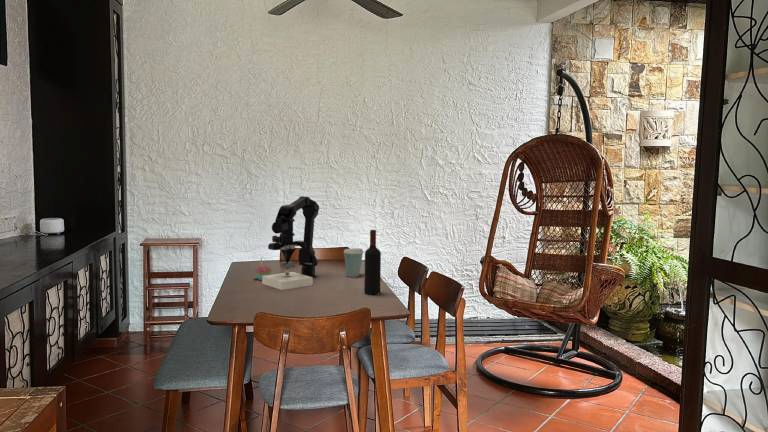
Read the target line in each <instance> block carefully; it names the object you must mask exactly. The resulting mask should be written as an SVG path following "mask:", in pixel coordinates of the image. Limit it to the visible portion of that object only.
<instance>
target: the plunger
mask: <svg viewBox="0 0 768 432" xmlns="http://www.w3.org/2000/svg"><path fill="white" fill-rule="evenodd" d="M279 267H280V268H281V269H285V271H284V273H285V275H289V272H290V269H291V268H293V269H294V268H295V262H294V261H289V262H288V263H286V261H281V262H279Z"/></svg>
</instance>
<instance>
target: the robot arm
mask: <svg viewBox="0 0 768 432" xmlns="http://www.w3.org/2000/svg"><path fill="white" fill-rule="evenodd" d="M299 210H302V214H303V216H304V217H303V218H304V227H303V228H304V230H303V240H294V237H295V234H296V233H294V222H296V220H295V219H294V217H296V215H297V212H298V211H299ZM277 211H278V212H277V215H276V218H275V221H274V222H273V223H272V225H271V230H272V232H273V233H275V235H272V237H271V241H272V242H270V243H269V244H268V246H267V247H268V248H267V249H268V250H271V251H281V253H282V254H283V257H284V260H285V261H284V262H286V263H288V262H290V260H291V258H292V256H293V255H294V252H295V251H296V250H297V248H296V247H300V248H299V249H298V255H297V256H298V257H297V258H298V262H299V263H298V264H299V266H301V269H300V271H301V273H300V274H302V275H306V276H309V277H314V278H315V277H316V278H317V275H316V266H318V264H319V261H318V259H317V256H316V250H315V249H314V247H313V245H314V244H313V243H314V232H315V231H314V229H315V228H314V227H315V219H316V218H317V216H319V211H320V205H319V204H318V203H317V202H316V200H313V199H311V198H310V197H309V196H303V195H302V196H299V197H298V198H297V199H295V200H294V201H293V202H291V203H290V204H284V205H281V206H280V207H279V209H278V210H277ZM277 234H279V236H277Z"/></svg>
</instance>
